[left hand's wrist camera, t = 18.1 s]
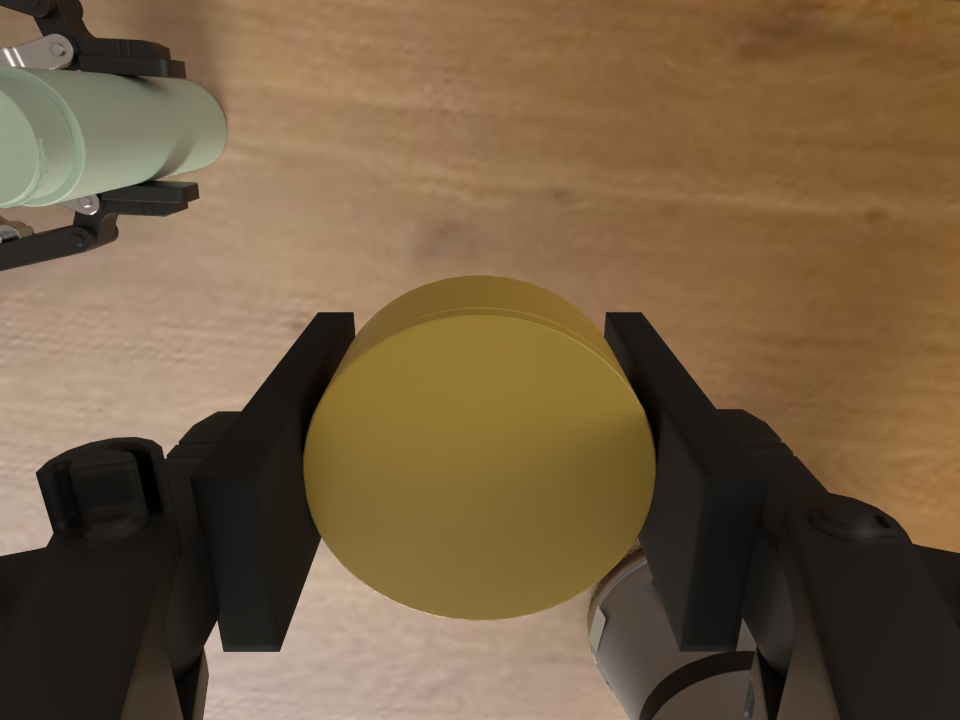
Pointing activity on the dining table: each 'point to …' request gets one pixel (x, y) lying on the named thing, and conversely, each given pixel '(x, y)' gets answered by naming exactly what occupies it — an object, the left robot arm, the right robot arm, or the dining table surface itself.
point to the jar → (99, 132)
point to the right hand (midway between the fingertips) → (183, 132)
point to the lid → (479, 452)
